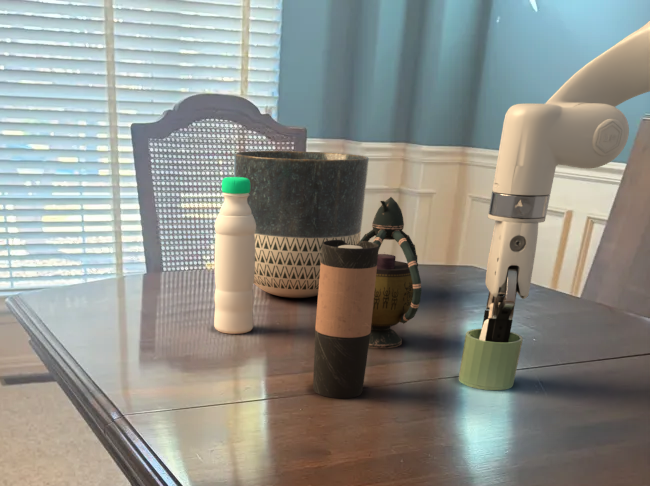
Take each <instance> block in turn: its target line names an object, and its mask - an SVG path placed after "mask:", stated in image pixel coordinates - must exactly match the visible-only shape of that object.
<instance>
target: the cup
mask: <svg viewBox="0 0 650 486" xmlns="http://www.w3.org/2000/svg"><path fill="white" fill-rule="evenodd" d="M481 330H482V328H473V329H470V330H467V331H466V332H465V336H464V343H463V348H462V355H461V359H460V366H459V373H458V381H459V382H460V383H461V384H463V385H464V386H467V387H470V388H474V389H477V390H483V391H484V390H485V391H504V390H509V389H511V388H512V387H513V386H514V383H515V381H516V380H515V379H516V374H517V370H518V366H519V359H520V356H521V355H520V354H521V350H522V345H523V340H524V338H523V336H522V335H520V334H518V333H516V332H512V331H510V336H509V342H490V341H484V340H480V339H479V338H480V334H481Z"/></svg>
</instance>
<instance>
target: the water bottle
mask: <svg viewBox="0 0 650 486" xmlns="http://www.w3.org/2000/svg"><path fill="white" fill-rule="evenodd" d="M221 192H222V196H223V198H224V199H223V203H222V205H221V206H220V209H219V213H218V215H217V216H216V218H215V221H214V230H215V237H214V238H215V241H214V282H215V289H214V296H213V297H214V300H213V301H214V315H213V318H214V319H213V326H214V329H215V330H216V331H218V332H220V333H223V334H229V335H241V334H247V333H249V332H251V331H252V330H253V328H254V310H253V309H254V305H255V291H254V285H255V284H254V273H255V235H254V233H255V231H256V223H255V220H254V217H253V215H252V214H251V209H250V207H249V205H248V202H247V198H248V196H249V193H250V180H249V179H247V178H243V177H234V176H228V177H223V178H222V181H221Z"/></svg>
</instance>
